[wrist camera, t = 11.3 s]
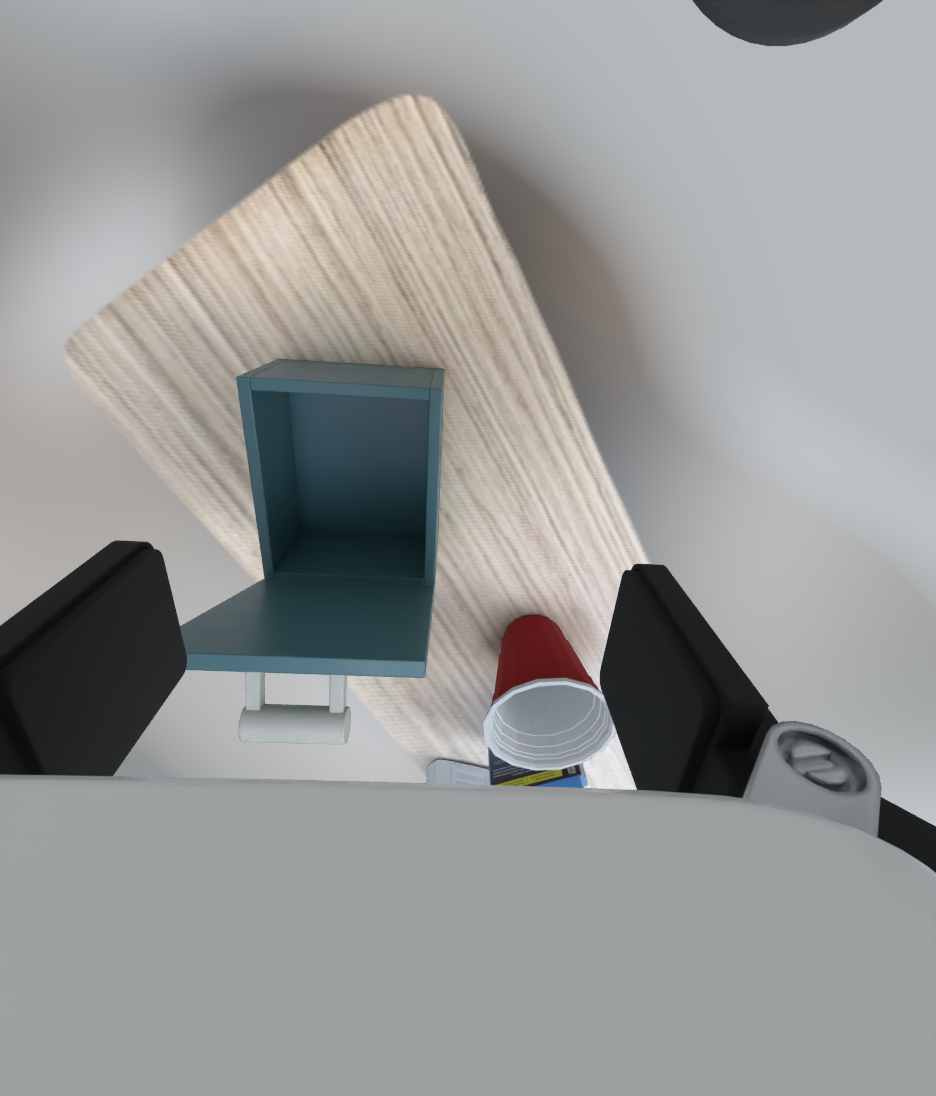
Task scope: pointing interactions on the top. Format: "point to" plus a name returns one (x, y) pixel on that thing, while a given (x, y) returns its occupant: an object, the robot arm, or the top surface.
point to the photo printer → (456, 773)
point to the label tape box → (534, 775)
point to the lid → (311, 647)
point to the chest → (345, 470)
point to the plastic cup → (544, 701)
